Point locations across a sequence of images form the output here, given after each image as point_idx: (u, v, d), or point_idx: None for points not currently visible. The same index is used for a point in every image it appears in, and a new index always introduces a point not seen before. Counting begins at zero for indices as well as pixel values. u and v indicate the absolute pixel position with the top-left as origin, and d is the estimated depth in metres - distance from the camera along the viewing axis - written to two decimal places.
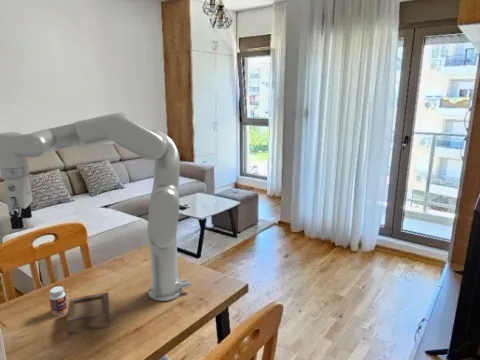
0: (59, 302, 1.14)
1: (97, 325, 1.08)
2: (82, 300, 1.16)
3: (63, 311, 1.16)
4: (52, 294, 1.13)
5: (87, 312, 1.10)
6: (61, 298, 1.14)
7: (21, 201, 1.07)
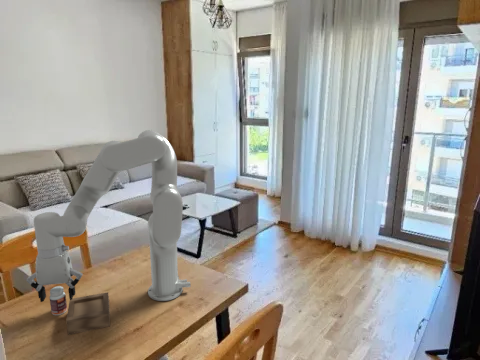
0: (59, 302, 1.14)
1: (97, 325, 1.08)
2: (82, 300, 1.16)
3: (63, 311, 1.16)
4: (52, 294, 1.13)
5: (87, 312, 1.10)
6: (61, 298, 1.14)
7: (72, 269, 1.17)
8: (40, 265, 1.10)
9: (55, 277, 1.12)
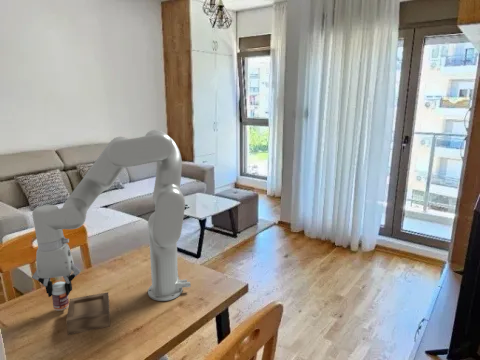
0: (61, 298, 1.14)
1: (97, 325, 1.08)
2: (82, 300, 1.16)
3: (65, 307, 1.16)
4: (54, 289, 1.13)
5: (87, 312, 1.10)
6: (63, 293, 1.14)
7: (73, 262, 1.16)
8: (41, 258, 1.09)
9: (56, 270, 1.11)
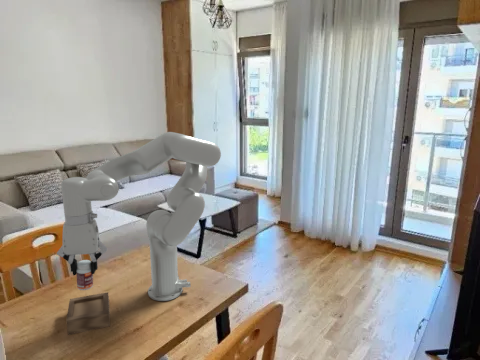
0: (87, 277, 1.08)
1: (97, 325, 1.08)
2: (82, 300, 1.16)
3: (90, 286, 1.09)
4: (80, 267, 1.07)
5: (87, 312, 1.10)
6: (89, 272, 1.08)
7: None
8: (68, 233, 1.03)
9: (83, 246, 1.05)
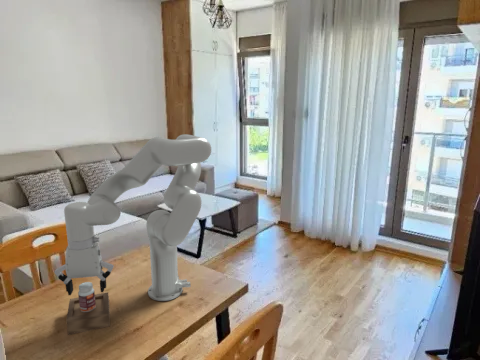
0: (89, 299, 1.10)
1: (97, 325, 1.08)
2: None
3: (92, 308, 1.11)
4: (81, 290, 1.09)
5: (87, 312, 1.10)
6: (90, 294, 1.10)
7: None
8: (70, 257, 1.05)
9: (85, 270, 1.07)
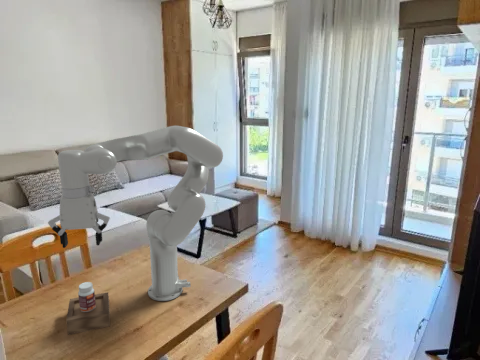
0: (89, 299, 1.10)
1: (97, 325, 1.08)
2: None
3: (92, 308, 1.11)
4: (81, 290, 1.09)
5: (87, 312, 1.10)
6: (90, 294, 1.10)
7: None
8: (65, 207, 1.01)
9: (80, 221, 1.03)
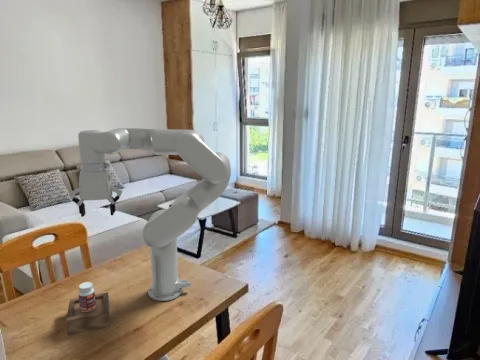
0: (89, 299, 1.10)
1: (97, 325, 1.08)
2: None
3: (92, 308, 1.11)
4: (81, 290, 1.09)
5: (87, 312, 1.10)
6: (90, 294, 1.10)
7: None
8: (84, 180, 1.16)
9: (97, 192, 1.17)
